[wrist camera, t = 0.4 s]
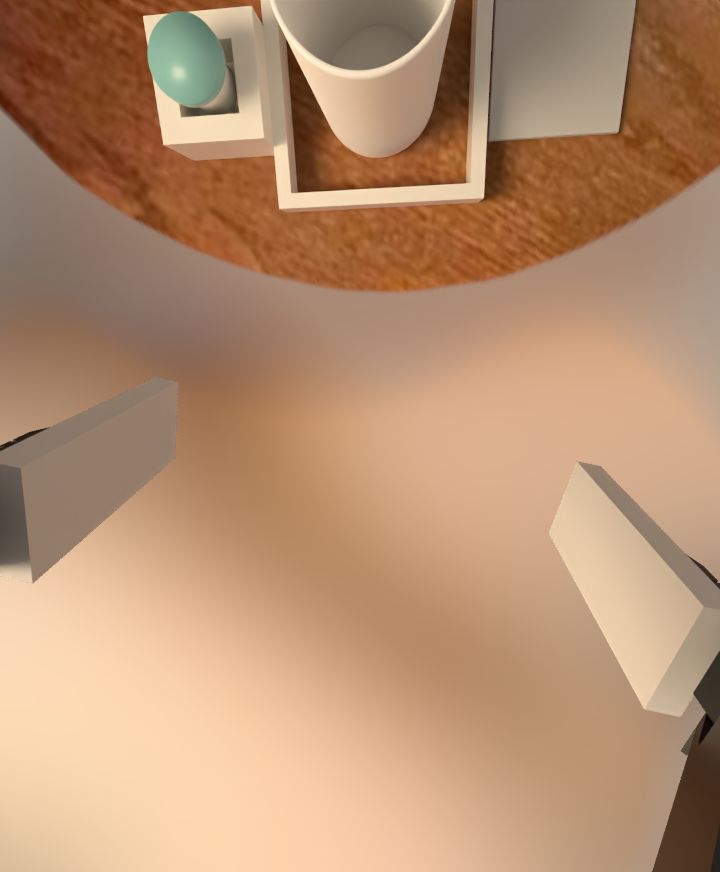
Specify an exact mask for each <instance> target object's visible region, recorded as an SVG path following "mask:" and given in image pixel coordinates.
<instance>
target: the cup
mask: <svg viewBox="0 0 720 872" xmlns="http://www.w3.org/2000/svg"><path fill="white" fill-rule="evenodd" d="M270 2H271V5H272V9H273V11H274V14H275V16H276V19H277V21H278V23H279V25H280V27H281V29H282V31H283V33H284V35H285V37H286V39H287V41H288V43H289V45H290V47H291V49H292V51H293V53H294V55H295V57H296V59H297V61H298V63H299V65H300V67H301V69H302V71H303V73H304V75H305V77H306V79H307V81H308V83H309V85H310V87H311V89H312V91H313V93H314V95H315V97H316V99H317V101H318V103H319V105H320V107H321V109H322V111H323V113H324V115H325V117H326V119H327V121H328V123H329V125H330V127H331V129H332V131H333V132H334V134H335V135H336V137H337V138H338V139H339V140H340V141H341V143H342V144H344V145H345V146H346V147H347V148H348V149H350V150H351V151H353V152H355V153H357V154H359V155H362V156H365V157H370V158H384V157H389V156H392V155H395V154H397V153H399V152H401V151H403V150H404V149H406V148H407V147H409V146H410V145H411V144H412V143H413V142H414V141H415V140H416V139H417V138H418V137H419V136H420V134H421V133H422V131H423V130H424V128H425V127H426V125H427V123H428V121H429V119H430V116H431V113H432V110H433V106H434V101H435V97H436V92H437V87H438V82H439V77H440V73H441V68H442V63H443V58H444V53H445V48H446V44H447V39H448V34H449V29H450V24H451V20H452V15H453V10H454V5H455V0H270Z"/></svg>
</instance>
